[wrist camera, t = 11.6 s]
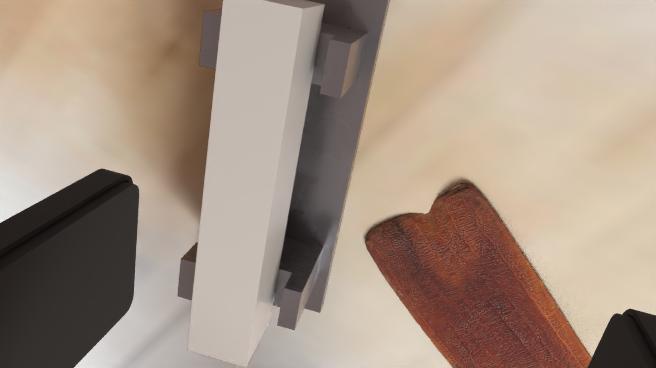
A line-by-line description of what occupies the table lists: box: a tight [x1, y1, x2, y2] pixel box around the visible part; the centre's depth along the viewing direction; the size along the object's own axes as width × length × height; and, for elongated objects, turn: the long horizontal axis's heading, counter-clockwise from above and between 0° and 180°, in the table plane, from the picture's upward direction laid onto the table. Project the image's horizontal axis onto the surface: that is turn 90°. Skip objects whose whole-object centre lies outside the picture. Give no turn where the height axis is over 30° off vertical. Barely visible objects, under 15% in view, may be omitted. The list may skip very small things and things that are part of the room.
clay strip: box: [187, 0, 325, 368], centre depth 32 cm, size 4×22×5 cm, turn 170°
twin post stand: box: [178, 0, 390, 330], centre depth 37 cm, size 10×25×8 cm, turn 169°
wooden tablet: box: [366, 183, 592, 368], centre depth 42 cm, size 27×10×2 cm, turn 36°
